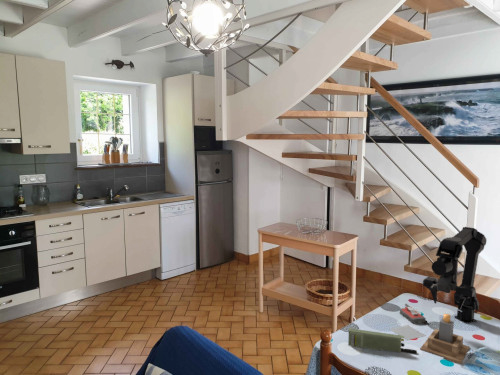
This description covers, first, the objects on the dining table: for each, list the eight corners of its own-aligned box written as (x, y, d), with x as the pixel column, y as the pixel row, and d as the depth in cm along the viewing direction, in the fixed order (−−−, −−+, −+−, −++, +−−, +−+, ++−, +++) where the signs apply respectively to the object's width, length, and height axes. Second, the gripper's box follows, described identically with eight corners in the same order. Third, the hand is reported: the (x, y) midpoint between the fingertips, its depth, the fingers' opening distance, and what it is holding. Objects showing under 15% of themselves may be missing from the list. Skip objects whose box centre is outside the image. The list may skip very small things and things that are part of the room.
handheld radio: (348, 342, 154) (416, 352, 146) (348, 346, 150) (416, 357, 143) (349, 327, 153) (416, 336, 145) (348, 331, 149) (417, 341, 142)
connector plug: (441, 343, 150) (442, 312, 149) (452, 347, 148) (454, 315, 146) (438, 347, 147) (439, 315, 146) (449, 351, 145) (451, 318, 143)
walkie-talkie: (432, 325, 168) (407, 306, 188) (432, 316, 168) (407, 298, 187) (413, 327, 167) (390, 307, 186) (414, 317, 166) (391, 299, 186)
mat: (407, 326, 167) (407, 324, 167) (425, 336, 158) (426, 335, 158) (389, 330, 163) (389, 329, 163) (407, 341, 154) (407, 340, 154)
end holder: (430, 337, 157) (431, 325, 157) (469, 348, 148) (470, 336, 148) (420, 350, 147) (420, 338, 146) (460, 364, 138) (461, 351, 137)
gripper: (419, 269, 157) (417, 305, 159) (469, 280, 145) (467, 319, 146) (428, 263, 166) (426, 298, 167) (477, 273, 153) (474, 310, 155)
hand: (447, 306), depth 159 cm, fingers open, 9 cm apart
